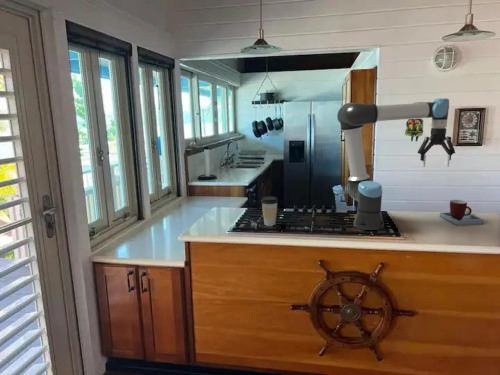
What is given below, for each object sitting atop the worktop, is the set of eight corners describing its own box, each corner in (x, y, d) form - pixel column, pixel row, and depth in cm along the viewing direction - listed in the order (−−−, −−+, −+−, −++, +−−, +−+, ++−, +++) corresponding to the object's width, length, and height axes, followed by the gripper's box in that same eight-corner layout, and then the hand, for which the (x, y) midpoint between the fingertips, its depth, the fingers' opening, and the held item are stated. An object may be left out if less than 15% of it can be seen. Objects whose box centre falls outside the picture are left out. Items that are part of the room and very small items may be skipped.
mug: (468, 217, 207) (469, 200, 205) (472, 222, 199) (474, 204, 197) (447, 216, 210) (448, 199, 207) (450, 221, 202) (451, 203, 200)
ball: (465, 215, 214) (465, 209, 213) (461, 213, 217) (461, 207, 216) (470, 215, 214) (471, 209, 213) (466, 213, 217) (467, 207, 217)
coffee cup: (281, 226, 203) (281, 199, 200) (265, 228, 199) (264, 201, 196) (273, 221, 211) (273, 195, 208) (258, 223, 208) (257, 197, 205)
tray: (457, 225, 197) (457, 220, 196) (439, 216, 212) (440, 212, 211) (483, 224, 198) (483, 219, 197) (464, 215, 213) (464, 211, 212)
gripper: (420, 128, 198) (416, 167, 203) (465, 127, 200) (460, 167, 205) (413, 127, 206) (409, 165, 210) (456, 127, 207) (452, 165, 212)
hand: (434, 166), depth 207 cm, fingers open, 13 cm apart
